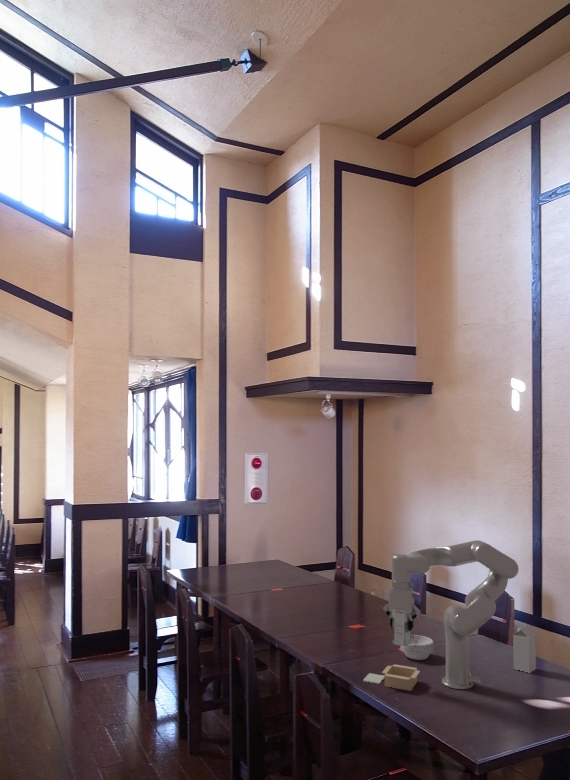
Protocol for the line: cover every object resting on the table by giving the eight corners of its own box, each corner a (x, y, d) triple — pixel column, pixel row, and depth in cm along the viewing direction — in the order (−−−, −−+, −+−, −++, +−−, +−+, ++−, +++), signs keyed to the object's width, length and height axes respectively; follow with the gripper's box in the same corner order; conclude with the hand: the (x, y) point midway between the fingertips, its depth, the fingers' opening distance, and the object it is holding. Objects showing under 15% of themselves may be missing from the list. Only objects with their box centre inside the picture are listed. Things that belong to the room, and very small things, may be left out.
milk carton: (536, 669, 281) (535, 625, 283) (529, 673, 276) (528, 629, 278) (520, 665, 286) (519, 622, 288) (513, 669, 281) (512, 625, 282)
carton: (421, 681, 266) (421, 668, 266) (413, 693, 252) (413, 680, 253) (389, 675, 272) (389, 663, 272) (379, 687, 258) (379, 674, 259)
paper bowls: (420, 664, 285) (420, 646, 286) (393, 656, 297) (393, 638, 298) (440, 657, 295) (440, 640, 296) (413, 649, 307) (413, 632, 308)
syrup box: (399, 640, 267) (398, 605, 269) (411, 643, 264) (410, 607, 265) (392, 644, 263) (391, 608, 264) (404, 646, 259) (404, 610, 260)
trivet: (385, 677, 269) (385, 675, 269) (379, 684, 261) (379, 682, 261) (369, 674, 272) (369, 673, 272) (363, 681, 264) (363, 680, 264)
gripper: (423, 585, 265) (424, 629, 264) (383, 581, 272) (383, 623, 271) (419, 588, 258) (420, 633, 257) (378, 584, 266) (378, 628, 264)
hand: (401, 628), depth 264 cm, fingers closed on syrup box, 6 cm apart
